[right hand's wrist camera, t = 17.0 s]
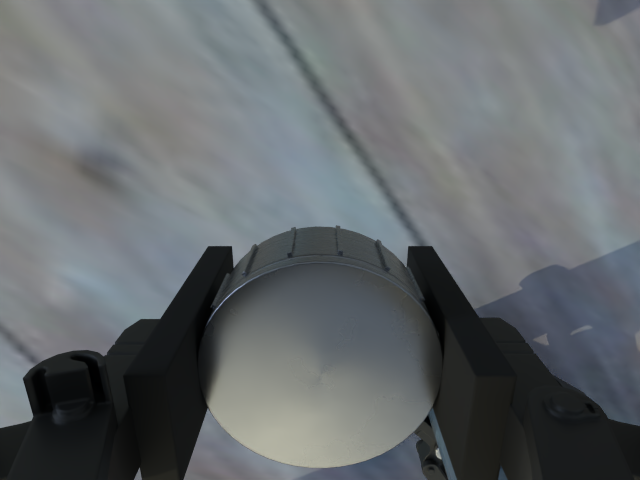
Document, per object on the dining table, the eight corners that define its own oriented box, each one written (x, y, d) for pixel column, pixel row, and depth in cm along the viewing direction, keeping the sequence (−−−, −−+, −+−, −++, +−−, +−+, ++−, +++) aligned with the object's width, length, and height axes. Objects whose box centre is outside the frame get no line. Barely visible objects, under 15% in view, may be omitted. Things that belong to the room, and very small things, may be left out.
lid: (375, 188, 11) (390, 216, 9) (450, 363, 13) (478, 423, 11) (178, 275, 12) (146, 322, 10) (274, 428, 14) (266, 497, 11)
